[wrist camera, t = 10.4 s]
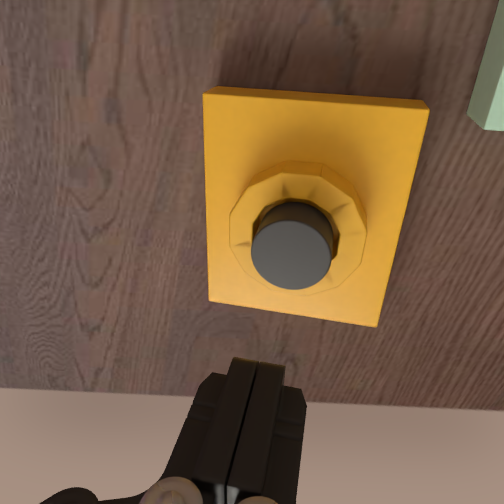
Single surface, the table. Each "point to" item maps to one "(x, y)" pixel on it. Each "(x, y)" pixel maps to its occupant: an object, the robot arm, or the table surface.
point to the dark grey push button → (293, 246)
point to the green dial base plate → (490, 79)
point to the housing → (309, 191)
